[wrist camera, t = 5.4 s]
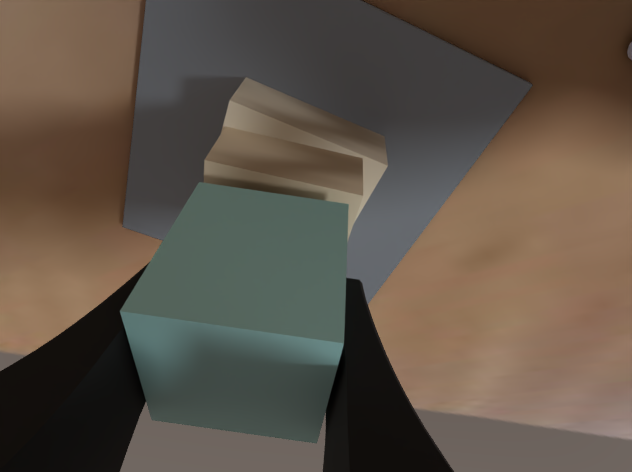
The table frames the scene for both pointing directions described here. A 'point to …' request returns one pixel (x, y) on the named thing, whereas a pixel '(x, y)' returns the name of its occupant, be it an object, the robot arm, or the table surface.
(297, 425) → the teal block
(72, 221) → the table surface
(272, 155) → the tower mid
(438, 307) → the table surface
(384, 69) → the felt mat
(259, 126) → the tower base
